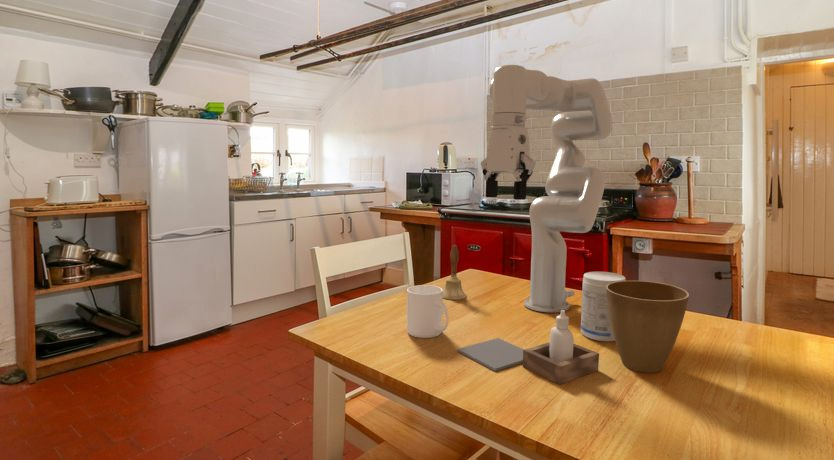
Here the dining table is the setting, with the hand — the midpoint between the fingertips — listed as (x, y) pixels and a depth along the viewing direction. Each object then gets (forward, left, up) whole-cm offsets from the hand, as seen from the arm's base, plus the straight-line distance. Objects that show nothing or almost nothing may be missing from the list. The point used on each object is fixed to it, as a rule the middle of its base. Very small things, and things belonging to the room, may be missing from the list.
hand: (505, 198), depth 110 cm
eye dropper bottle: (+4, +21, -33) cm, 39 cm away
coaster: (+10, +9, -33) cm, 35 cm away
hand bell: (-10, -32, -33) cm, 47 cm away
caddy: (+4, +21, -33) cm, 39 cm away
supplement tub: (-19, +14, -33) cm, 41 cm away
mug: (+15, -9, -33) cm, 37 cm away
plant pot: (-11, +29, -33) cm, 45 cm away
